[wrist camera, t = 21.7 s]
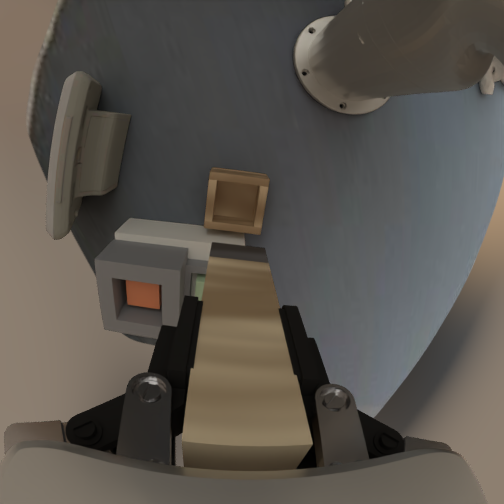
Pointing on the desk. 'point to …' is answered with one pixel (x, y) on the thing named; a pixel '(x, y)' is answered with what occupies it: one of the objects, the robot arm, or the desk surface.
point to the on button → (199, 286)
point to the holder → (236, 200)
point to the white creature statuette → (492, 77)
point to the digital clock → (82, 152)
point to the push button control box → (153, 271)
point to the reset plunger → (144, 294)
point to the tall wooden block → (242, 373)
